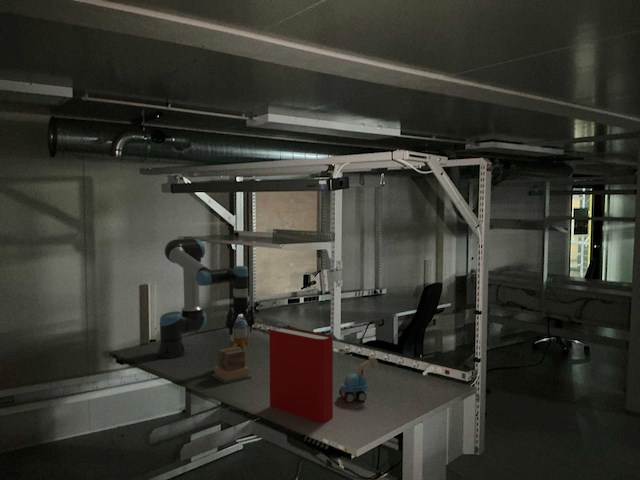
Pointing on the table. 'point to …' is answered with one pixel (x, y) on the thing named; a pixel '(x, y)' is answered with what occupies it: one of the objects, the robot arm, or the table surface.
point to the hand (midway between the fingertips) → (240, 339)
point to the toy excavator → (357, 383)
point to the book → (302, 373)
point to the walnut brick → (231, 358)
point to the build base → (231, 374)
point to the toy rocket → (240, 335)
